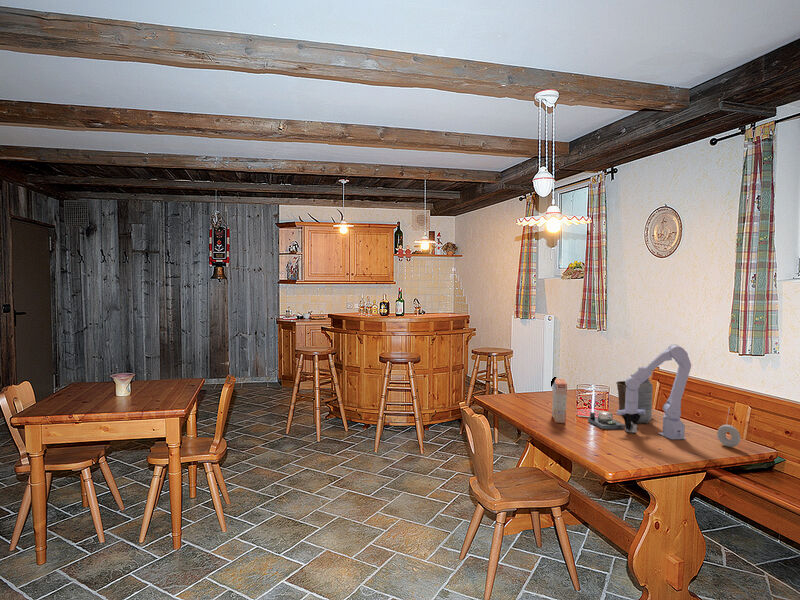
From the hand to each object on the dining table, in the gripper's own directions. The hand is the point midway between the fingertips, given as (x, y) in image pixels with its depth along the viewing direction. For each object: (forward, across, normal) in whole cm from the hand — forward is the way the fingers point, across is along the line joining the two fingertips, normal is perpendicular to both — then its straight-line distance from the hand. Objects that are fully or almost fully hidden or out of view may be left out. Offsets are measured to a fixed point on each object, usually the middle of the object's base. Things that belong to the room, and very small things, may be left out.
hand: (630, 428), depth 249 cm
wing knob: (+2, 0, 0) cm, 2 cm away
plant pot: (+2, -25, -37) cm, 44 cm away
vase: (+2, -16, -17) cm, 23 cm away
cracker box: (+2, +26, -24) cm, 35 cm away
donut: (+2, -32, +26) cm, 41 cm away
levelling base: (+2, +6, -12) cm, 14 cm away
